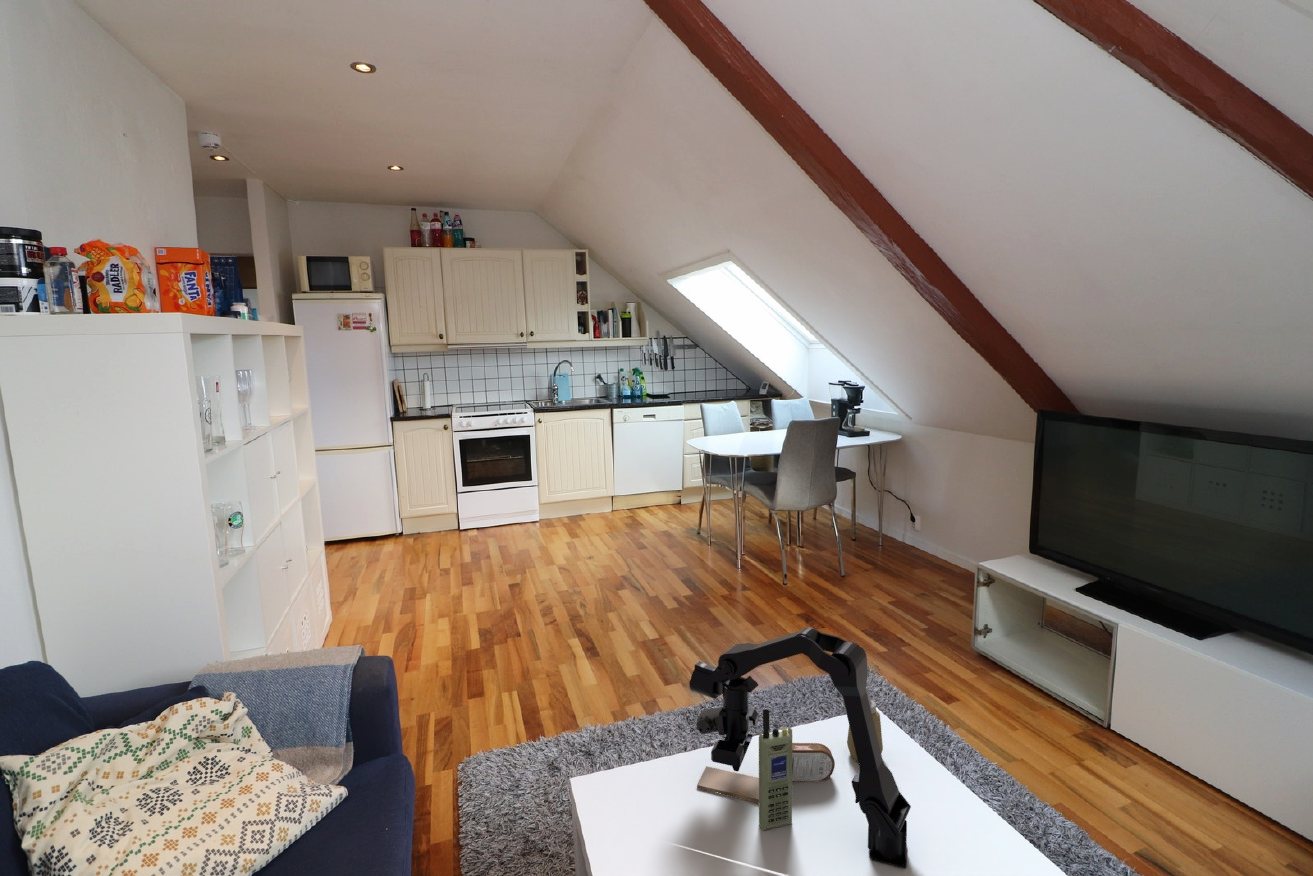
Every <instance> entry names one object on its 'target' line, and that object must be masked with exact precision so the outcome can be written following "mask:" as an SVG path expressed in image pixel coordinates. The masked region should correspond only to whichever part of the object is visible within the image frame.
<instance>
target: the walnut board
mask: <svg viewBox="0 0 1313 876" xmlns="http://www.w3.org/2000/svg"><path fill="white" fill-rule="evenodd" d="M698 788H699V789H700V790H702V789H704V790H703V791H706V790H708V791H707V792H711V793H715V792H718V793H717V794H719V793H721V794H720V795H724V796H727V795H728V796H727V797H731V796H732V798H735V797H736V799H739V798H741V799H740V800H743V799H744V801H748V802H751V801H752V803H754V804H755V803H756V804H759V777H757V776H753V775H748V774H744V773H740V772H739V773H738V772H736V771H729V770H726V769H720V768H716V767H712V766H708V765H707V766H705V768H704V770H703V772H702V774H701V776H700V778H699V780H698V782H697V784H696V789H698Z"/></svg>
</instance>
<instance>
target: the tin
mask: <svg viewBox="0 0 1313 876" xmlns="http://www.w3.org/2000/svg"><path fill="white" fill-rule="evenodd" d="M835 764H836V763H835V759H834V756H833V754H832V751H831V749H830V748H828V746H826V745H825V744H824V743H823V744H822V743H818V742H792V784H793V783H813V782H824V781H826V780H827V779H829V778H831V776H832V774H833V773H834V770H835V766H836V765H835Z"/></svg>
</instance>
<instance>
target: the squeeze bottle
mask: <svg viewBox="0 0 1313 876" xmlns="http://www.w3.org/2000/svg"><path fill="white" fill-rule="evenodd" d="M866 692H867V696H868V700H869V705H870V709H871V713H872V717H873V721H874V726H875V730H876V734H877V738H878V742H879V747H880V751H881V754H882V753H883V750H884V748H883V747H884V746H883V735H882V734H883V733H882V725H881V723H882V721H881V714H880V712H879V711H878V710H877V704H876V702H875V701H874V700H872V698H871V695H870V690H869V687H868V686H866ZM846 743H847V748H848V751H849V754H850V757H851V758H852V759H853V761H855V762H857V763H858V760H857V756H856V752H855V747H854V743H853V739H852V735H851V730H850V726H849V725H848V732H847V740H846Z"/></svg>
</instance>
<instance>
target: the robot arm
mask: <svg viewBox="0 0 1313 876" xmlns="http://www.w3.org/2000/svg"><path fill="white" fill-rule="evenodd" d="M828 652H829V653H828ZM830 653H832V654H830ZM801 654H802V655H804V656H806V657H807V658H808V659H809V660H810V661H811V662H812V663H813V664H814V665H815V667H817V668H818V669H820V670H822V671H823V672H825V673H827V674H828V675H829V677H830V679H831V682H832V685H833V687H834V688H835V689H836V690H837V692H839V694H840V695H841V697H842V700H843V704H844V710H845V713H846V718H847V720H848V721H847V722H848V727H849V726H850V730H851V735H852V739H853V743H854V747H855V752H856V756H857V760H858V762H857V764H858V770H857V771H856V773H855V775H854V777H853V778H852V780H851V786H852V789H853V791H854V794H855V800H854V802H855V804H858V805H859V808H860V811H861V812H862V813H863V814H864V815H865V818H866V821H867V824H868V827H867V850H870V851H869V858H870V860H872V861H876V862H880V863H884V864H886V865H887V864H888V865H891V866H895V867H899V868H904V869H906V868H907V867H908V863H907V862H908V853H907V852H908V850H907V849H908V846H907V845H908V844H907V843H908V842H907V838H908V837H907V836H908V833H907V832H908V823H907V822H908V821H907V817H908V814H909V812H910V810H911V808H912V805H911V804H910V803H909V802H908V801H907V799H906V798H905V797H904V796H903V794H902V792H901V791H899V787H898V785H897V782H896V780H895V778H894V776H893V772H892V771H891V770H890V769H889V768H888V766H887V765H886V764H885V762H884V760H883V756H882V753H881V751H880V747H879V742H878V738H877V734H876V730H875V726H874V721H873V717H872V713H871V709H870V705H869V700H868V696H867V692H866V687H867V683H868V674H869V673H868V672H869V670H868V669H869V668H868V657H867V653H866V651H865V649H864V648H863V647H861V646H860V645H859V644H857V643H855V642H852V641H848V640H846V639H844V638H842V637H840V636H836V635H832V634H828V633H825V632H822V631H821V630H820V631H819V630H818V629H815V628H814V627H811V626H810V627H808V626H807V627H804V628H803V629H801V630H798V631H795V632H791V633H789V634H786V635H782V636H779V637H776V638H772V639H770V640H769V639H768V640H767V641H764V642H759V643H750V642H745V643H744V642H743V643H737V644H734V645H733V646H731V647H730V648H729V649H727V650H726V651H724V653H722V654H720V656H719V657H718V660H717V663H718V665H717V667H716V666H713V665H710V664H707V663H706V662H703V661H698V662H697V663H696V664H694V670H693V671H692V673H691V676H690V680H689V681H688V683H689V689H690V691H691V692H693V693H695V694H698V695H702V696H704V697H708V698H710V699H714V700H716V699H718V698H719V696H722V707H715V708H708V709H704V710H702V711H701V712H700V713H699V715H698V717H697V718H696V722H695V723H696V730H697V731H698V732H699V733H700V734H701V735H705V734H710V733H714V732H717V733H718V735H719V736H723V738H724V740H723V739H718V740H717V741H715V743H714V745H713V747H712V749H711V751H710V760H711V762H713V763H716V764H721V765H726V766H729V767H732V769H733V772H739V771H740V769H741V766H742V764H743V760H744V759H745V756H746V753H747V751H748V748H749V746H750V744H751V741H752V739H753V734H751V733H750V730H751V728H752V727H757V726H758V723H759V712H758V711H757V710H756V709H755V708H752V704H750V699H749V698H750V694H749V693H752V692H754V690H755V689H757V687H759V683H758V682H757V681H756V679H754V678H752V676H751V675H749V676H747V677H744V676H745V675H746V674H747V675H748V673H750V672H751V671H753V670H755V669H756V668H758V667H759V666H760V667H761V666H764V665H766V664H769V663H774V662H776V661H780V660H784V659H787V658H791V657H795V656H798V655H801ZM750 721H751V722H750Z"/></svg>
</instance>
